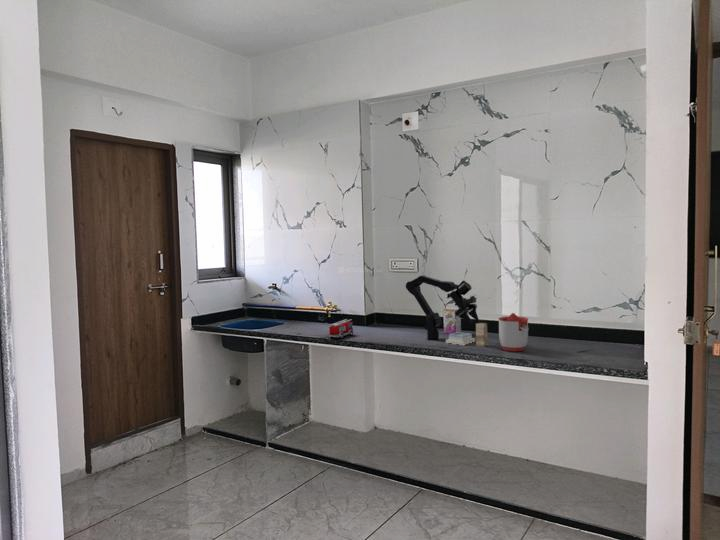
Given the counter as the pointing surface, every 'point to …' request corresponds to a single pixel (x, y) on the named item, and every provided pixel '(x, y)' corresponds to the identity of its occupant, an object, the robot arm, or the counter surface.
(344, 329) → the toy fire truck
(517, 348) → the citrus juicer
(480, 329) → the birch block
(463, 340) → the tower base
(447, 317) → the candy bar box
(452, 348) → the counter surface
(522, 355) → the counter surface
